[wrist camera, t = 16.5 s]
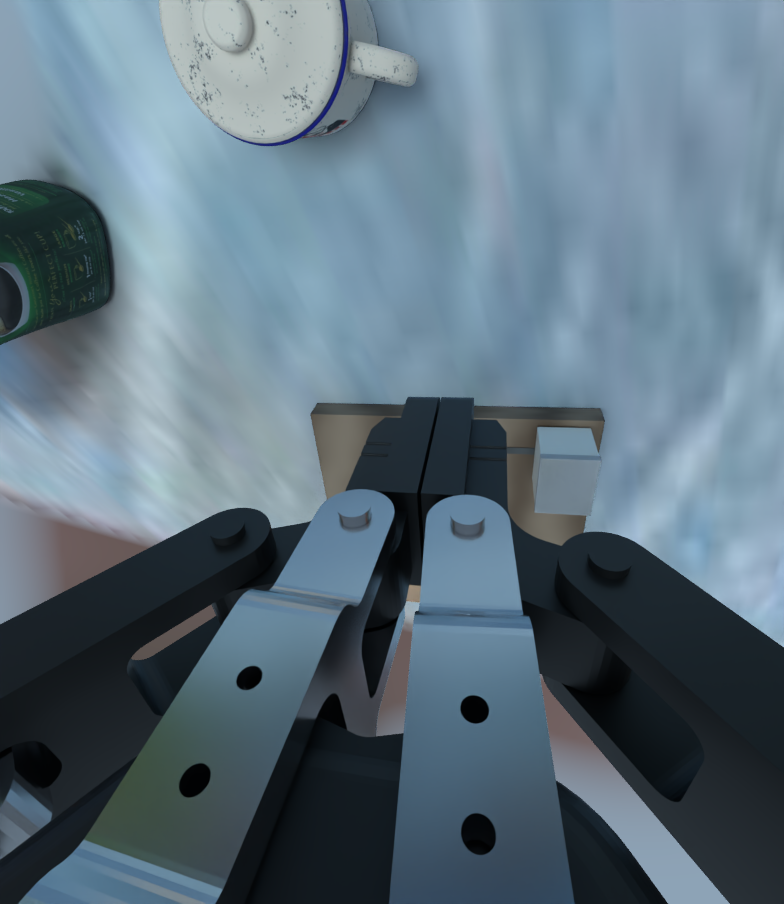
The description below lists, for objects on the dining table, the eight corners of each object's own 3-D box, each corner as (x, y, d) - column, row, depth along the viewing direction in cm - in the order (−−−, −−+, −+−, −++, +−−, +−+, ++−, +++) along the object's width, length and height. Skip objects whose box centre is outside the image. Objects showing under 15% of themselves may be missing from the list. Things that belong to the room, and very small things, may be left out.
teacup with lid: (239, 123, 32) (132, 124, 23) (240, -70, 27) (100, -173, 18) (412, 165, 32) (376, 184, 22) (448, -22, 27) (420, -101, 17)
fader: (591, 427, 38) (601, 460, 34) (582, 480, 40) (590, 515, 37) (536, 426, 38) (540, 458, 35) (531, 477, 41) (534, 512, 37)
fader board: (600, 408, 39) (604, 421, 37) (571, 565, 49) (574, 581, 47) (317, 403, 44) (310, 414, 42) (343, 547, 53) (338, 561, 52)
